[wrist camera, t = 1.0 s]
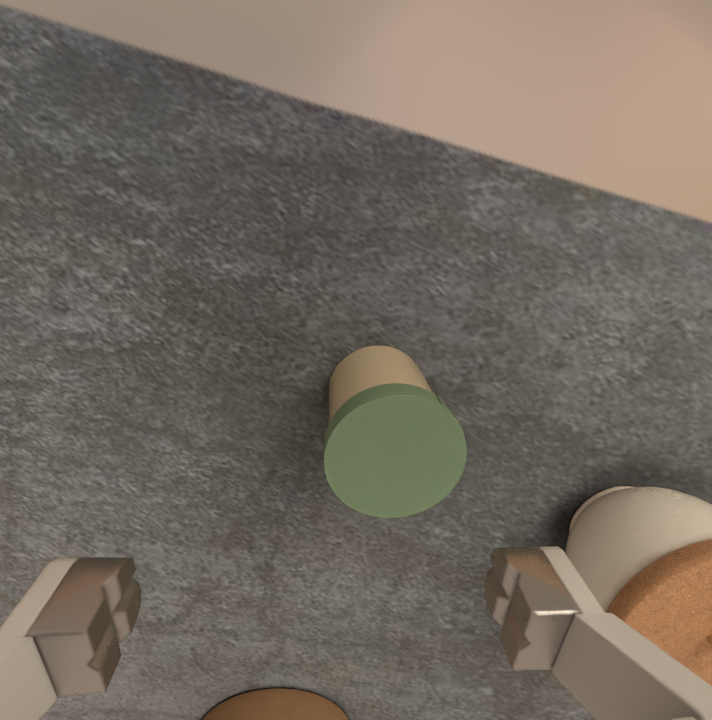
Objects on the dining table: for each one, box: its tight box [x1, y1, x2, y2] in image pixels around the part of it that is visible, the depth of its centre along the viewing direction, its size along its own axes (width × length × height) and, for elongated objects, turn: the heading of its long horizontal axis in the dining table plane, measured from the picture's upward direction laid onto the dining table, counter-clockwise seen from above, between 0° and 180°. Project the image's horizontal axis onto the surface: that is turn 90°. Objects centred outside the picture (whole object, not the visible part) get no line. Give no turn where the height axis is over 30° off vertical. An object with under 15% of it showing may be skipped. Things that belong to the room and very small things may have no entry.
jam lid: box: [324, 383, 467, 518], centre depth 20 cm, size 7×7×1 cm
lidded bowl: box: [565, 486, 712, 686], centre depth 27 cm, size 13×13×11 cm
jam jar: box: [329, 346, 434, 423], centre depth 23 cm, size 6×6×8 cm
